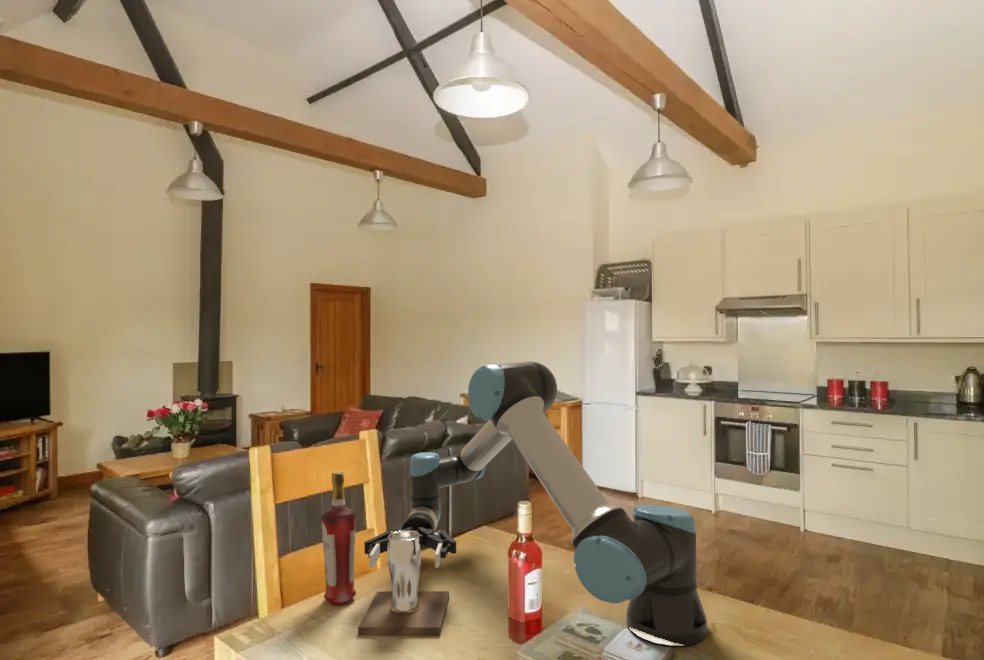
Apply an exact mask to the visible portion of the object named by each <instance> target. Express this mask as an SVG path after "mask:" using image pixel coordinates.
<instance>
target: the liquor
mask: <svg viewBox="0 0 984 660" xmlns="http://www.w3.org/2000/svg"><path fill="white" fill-rule="evenodd" d="M344 484H345V471H335V472H332V473H331V485H332V497H331V508H329V509H327V510H325V512H324V513H322V515H321V533H322V534H321V536H322V548H323V557H324V558H323V559H324V560H323V561H324V577H325V579H324V580H325V593H324V594H323V599H324V600H326V601H327V602H328V603H329V604H331V605H332V606H343V605H346V604H348V603H350V602H351V601H352V599H354V597H355V596H356V594H357V591H356V589H355V547H356V519H357V518H356V517H357V516H356V512H355V511H354V510H353V509H351V508H349V507H346V500H345V491H344Z"/></svg>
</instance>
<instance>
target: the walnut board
mask: <svg viewBox="0 0 984 660" xmlns="http://www.w3.org/2000/svg"><path fill="white" fill-rule="evenodd" d="M418 597H419V601H420V608H419V609H418V610H417V611H415V612H413V613H410V614H396V613H394V612H392V611H391V609H390V607H391V600H392V590H391V591H388V590H387V591H376V593H375V595H374V597H373V599H372V600H371V602H370V605H369V606H368V608H367V610H366V612H365V614H364V616H363V618H362V620H361V621H360V623H359V625H358V627H357V633H358V634H357V635H358V636H441V635H442V634H441V633H442V629H443V626H444V621H445V618H446V613H447V609H448V604H449V603H450V602H449V601H450V590H445V591H443V590H440V591H439V590H437V591H435V590H434V591H433V590H432V591H425V590H424V591H423V590H422V591H419V590H418Z"/></svg>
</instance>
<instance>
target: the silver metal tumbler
mask: <svg viewBox="0 0 984 660" xmlns="http://www.w3.org/2000/svg"><path fill="white" fill-rule="evenodd" d="M401 530H402V529H401ZM386 553H387V555H386V557H387V567H388V574H389V579H390V584H391V591H392V600H391V607H390V609H391V611H392V612H394V613H396V614H410V613H413V612H415V611H417V610H418V609H419V608H420V601H419V597H418V591H419V590H418V589H419V579H420V573H421V566H422V547H421V543H420V534H419V533H418V532H416V531H412V530H402V531H400V530H397V531H394V532H393V533H391V534H390V535H389V536H388V549H387V551H386Z"/></svg>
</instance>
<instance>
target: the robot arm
mask: <svg viewBox="0 0 984 660" xmlns="http://www.w3.org/2000/svg"><path fill="white" fill-rule="evenodd" d="M467 388H468V389H467V391H468V392H467V399H468V406H469V408H470V411H471V413H472V414H473V415H474V416H475V418H477V419H479V420H483V421H487V422H486V423H485V424H484V425H483V427H481V429H480V430H479V431H478V432H477V433H476V434H475V435H474V436H473V437H472V438H471V439H470V440H469V441H468V443H466V445H464V447H463V448H462V449H461V450H460V451H458V452H457V454H455V455H451V456H446V457H440V456H439V454H438V453H437V452H431V451H429V452H428V451H427V452H418V453H414V454H413V455H412V456H411V457H410V463H409V464H410V465H409V477H410V478H409V479H410V512H409V514H408V515H407V517H406V520H405V521H404V523H403V525H402V527H401V529H400V530H399V531H402V530H412V531H416V532H418V533H419V534H420V543H421V548H425V549H429V548H430V549H432V550H433V551H435V552H434V568H439V567H440V564H441V561H442V559H446V558H447V556H448V555H449V553H450V554H455V555H456V554H457V541H456V539H454V538H453V537H452V536H450V535H449V534H448V533H447V531H446V529H445V528H440V529H439V530H438V531H437V532H435V531H436V530H437V526H438V524H439V522H440V520H441V518H442V513H443V512H442V510H443V509H442V508H443V507H442V504H441V489H442V488H445V487H450V486H455V485H458V484H459V485H460V484H463V483H469V482H474V481H476V480H478V479H481V478H482V477H484V476H485V473H486V472H485V471H486V470H487V465H488V464H489V463H490V462H491V460H493V459H494V458H495V457H496V456H497V455H498V454H499V453H500V452H501V450H503V449H504V448H505V447H506V446H507V445H508V444H509V443H510V442H511V441H512V442H513V443H514V444H515V445H516V447H517V449H518V450H519V452H520V453H521V455H522V457H523V458H524V459H525V461H526V463H527V464H528V465H529V467H530V468H531V470H532V471H533V474H535V476H536V477H537V479H538V481H539V482H540V483H541V486H543V488H544V489H545V491H546V492H547V494H548V496H549V497H550V498H551V500H552V502H553V504H555V506H556V508H557V509H558V510H559V512H560V513H561V515H562V517H563V518H564V520H565V521H566V523H567V524H568V526H569V527H570V528H571V530H572V538H571V544H572V546H573V548H574V549H575V551H574V554H573V563H574V564H575V567H574V570H575V572H576V575H577V578H578V580H579V582H580V584H581V585H582V586H583V587H584V588H585V590H586V591H587V592H588V593H589V594H591V595H592V596H593V597H595V598H596V599H598V600H599V601H602V602H606V603H609V604H621V603H623V602H626V601H628V605H627V609H626V626H627V628H628V627H631V628H634V629H637V630H639V631H642V632H645V633H647V634H650V635H653V636H655V637H658V638H662V639H665V640H668V641H671V642H674V643H679V644H683V645H686V646H685V647H688V646H693V645H696V644H698V643H700V642H702V641H703V640H705V639H706V638H707V635H708V620H707V616H706V615H707V614H706V613H705V610H704V607H703V605H702V602H701V599H700V598H701V597H700V596H699V593H698V592H699V591H698V586H697V585H698V584H697V537H696V536H697V531H696V520H695V517H694V516H693V515H692V514H691V513H689V511H686V510H683V509H681V508H677V507H674V506H673V507H672V506H666V505H657V504H640V505H636V506H635V507H634V508H633V513H632V517H633V519H631V518H630V516H629V515H628V514H627V512H626V511H625V510H624V508H623V507H622V506H618V505H613V504H610V502H609V501H608V500H607V498H606V496H604V495H603V493H602V492H601V491H600V489H599V487H598V485H596V483H595V482H594V481H593V479H592V478H591V476H590V475H589V474H588V472H587V471H586V469H585V468H584V467H583V465H582V464H581V463H580V461H579V460H578V459H577V457H576V456H575V454H574V453H573V452H572V451H571V449H570V448H569V446H568V445H567V443H566V442H565V441H564V439H563V438H562V437H561V435H560V434H559V433H558V431H557V430H556V428H555V427H554V426H553V424H552V423H551V421H550V420H549V419H548V417H547V416H546V415H545V414H546V413H547V412H548V411H549V409H550V408H551V407H552V406H553V404H554V403H555V401H556V398H557V396H558V383H557V380H556V378H555V376H554V374H553V373H552V371H551V370H550V368H548V367H547V366H545V365H544V364H541V363H540V362H536V361H521V362H504V363H503V362H502V363H496V362H493V363H491V364H485V365H481V366H479V367H478V368H477V369H476V370H475V371H474V372H473V374H472V376H471V378H470V380H469V383H468V386H467ZM391 533H393V529H392V528H388V529H386V530H385V531H384V532H383V533H380V534H378V535H376V536H374V537H372V538H370V539H368V540H365V541H364V546H363V547H364V554H365V555H368V556H367V557H368V561H369V562H368V563H369V566H368V567H369V569H373V568H374V567H375V566H376V564H377V562H378V561H379V558H380V557H381V554H383V553H385V552H386V553H387V549H388V536H389V535H390V534H391Z"/></svg>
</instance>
